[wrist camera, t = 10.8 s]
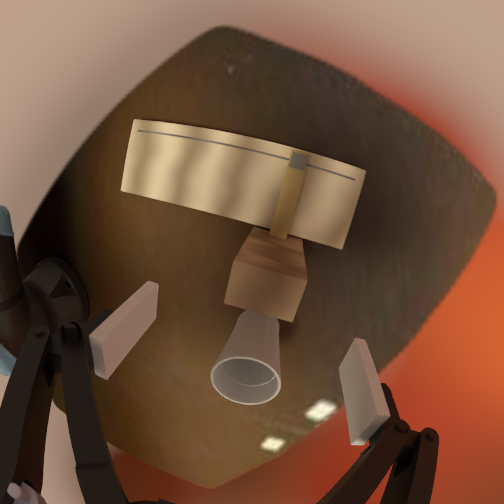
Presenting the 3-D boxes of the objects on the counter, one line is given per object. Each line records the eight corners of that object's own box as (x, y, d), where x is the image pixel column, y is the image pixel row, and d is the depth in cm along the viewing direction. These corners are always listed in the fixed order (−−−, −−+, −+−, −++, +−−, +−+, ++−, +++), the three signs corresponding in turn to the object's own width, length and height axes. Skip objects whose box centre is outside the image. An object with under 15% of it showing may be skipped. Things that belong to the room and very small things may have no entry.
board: (128, 189, 35) (120, 190, 34) (141, 120, 32) (134, 119, 30) (339, 245, 34) (341, 249, 32) (362, 170, 31) (366, 170, 29)
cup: (283, 301, 37) (278, 356, 26) (286, 346, 40) (282, 405, 28) (227, 303, 39) (203, 355, 27) (235, 347, 41) (217, 403, 30)
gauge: (248, 252, 36) (223, 303, 23) (275, 146, 31) (265, 132, 18) (292, 264, 36) (292, 322, 22) (323, 160, 31) (346, 155, 18)
